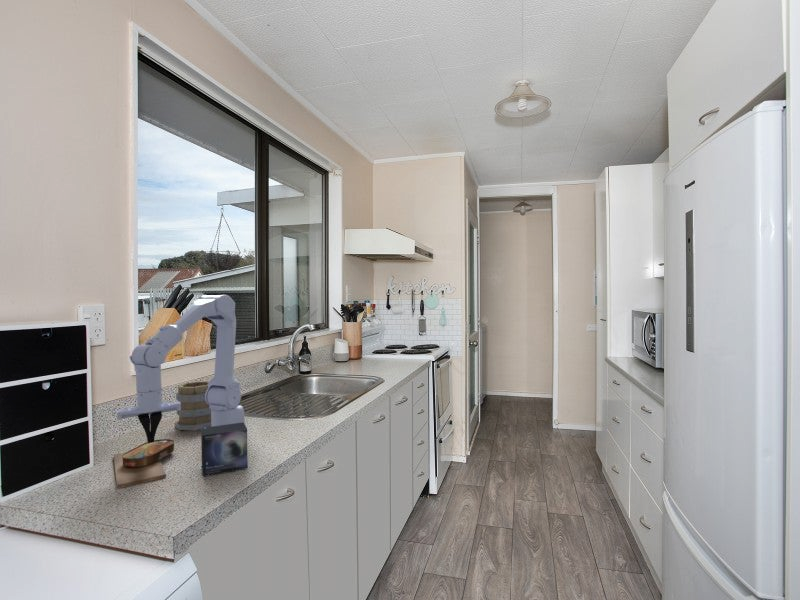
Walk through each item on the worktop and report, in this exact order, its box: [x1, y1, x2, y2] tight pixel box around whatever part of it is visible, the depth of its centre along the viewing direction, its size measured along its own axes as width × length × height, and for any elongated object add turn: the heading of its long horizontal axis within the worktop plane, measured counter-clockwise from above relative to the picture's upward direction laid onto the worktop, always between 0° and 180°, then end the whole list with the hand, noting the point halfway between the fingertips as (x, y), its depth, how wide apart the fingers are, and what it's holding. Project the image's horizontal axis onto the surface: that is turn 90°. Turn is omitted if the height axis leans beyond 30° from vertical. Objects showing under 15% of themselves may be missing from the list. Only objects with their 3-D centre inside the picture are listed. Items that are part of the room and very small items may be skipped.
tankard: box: [174, 380, 225, 432], centre depth 154 cm, size 20×13×15 cm, turn 132°
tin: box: [122, 438, 175, 467], centre depth 119 cm, size 15×3×8 cm
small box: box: [200, 422, 249, 477], centre depth 113 cm, size 11×6×10 cm, turn 117°
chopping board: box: [113, 451, 167, 489], centre depth 115 cm, size 10×24×1 cm, turn 34°
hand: (150, 441), depth 117 cm, fingers closed
